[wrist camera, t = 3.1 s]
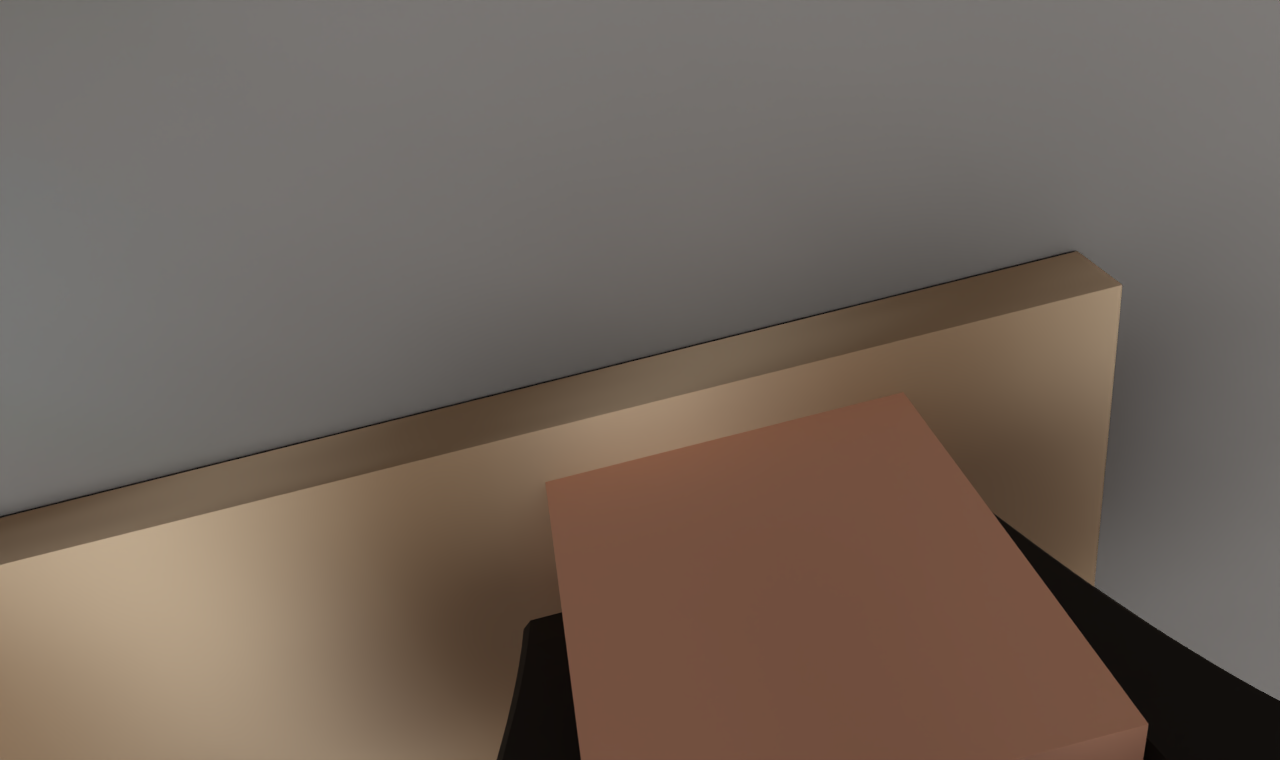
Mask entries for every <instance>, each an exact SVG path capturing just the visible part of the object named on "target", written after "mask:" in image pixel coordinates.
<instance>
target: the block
mask: <svg viewBox="0 0 1280 760" xmlns="http://www.w3.org/2000/svg"><path fill="white" fill-rule="evenodd" d="M545 484H546V492H547V499H548V507H549V515H550V523H551V531H552V538H553V546H554V554H555V562H556V569H557V577H558V585H559V593H560V600H561V608H562V616H563V624H564V631H565V639H566V647H567V655H568V663H569V670H570V678H571V686H572V694H573V701H574V709H575V717H576V725H577V732H578V740H579V748H580V756H581V760H1143V757H1144V751H1145V744H1146V737H1147V731H1148V723H1147V721H1146V720H1145V718H1144V717H1143V716H1142V714H1141V713H1140V712H1139V710H1138V709H1137V708H1136V706H1135V705H1134V704H1133V702H1132V701H1131V700H1130V698H1129V697H1128V695H1127V694H1126V693H1125V691H1124V690H1123V689H1122V687H1121V686H1120V685H1119V683H1118V682H1117V681H1116V679H1115V678H1114V677H1113V675H1112V674H1111V672H1110V671H1109V670H1108V668H1107V667H1106V666H1105V664H1104V663H1103V662H1102V660H1101V659H1100V658H1099V656H1098V655H1097V654H1096V652H1095V651H1094V649H1093V648H1092V647H1091V645H1090V644H1089V643H1088V641H1087V640H1086V639H1085V637H1084V636H1083V635H1082V633H1081V632H1080V631H1079V629H1078V628H1077V626H1076V625H1075V624H1074V622H1073V621H1072V620H1071V618H1070V617H1069V616H1068V614H1067V613H1066V612H1065V610H1064V609H1063V608H1062V606H1061V605H1060V603H1059V602H1058V601H1057V599H1056V598H1055V597H1054V595H1053V594H1052V593H1051V591H1050V590H1049V589H1048V587H1047V586H1046V585H1045V583H1044V582H1043V580H1042V579H1041V578H1040V576H1039V575H1038V574H1037V572H1036V571H1035V570H1034V568H1033V567H1032V566H1031V564H1030V563H1029V561H1028V560H1027V559H1026V557H1025V556H1024V555H1023V553H1022V552H1021V551H1020V549H1019V548H1018V547H1017V545H1016V544H1015V543H1014V541H1013V540H1012V538H1011V537H1010V536H1009V534H1008V533H1007V532H1006V530H1005V529H1004V528H1003V526H1002V525H1001V524H1000V522H999V521H998V520H997V518H996V517H995V515H994V514H993V513H992V511H991V510H990V509H989V507H988V506H987V505H986V503H985V502H984V501H983V499H982V498H981V497H980V495H979V494H978V492H977V491H976V490H975V488H974V487H973V486H972V484H971V483H970V482H969V480H968V479H967V478H966V476H965V475H964V474H963V472H962V471H961V469H960V468H959V467H958V465H957V464H956V463H955V461H954V460H953V459H952V457H951V456H950V455H949V453H948V452H947V451H946V449H945V448H944V446H943V445H942V444H941V442H940V441H939V440H938V438H937V437H936V436H935V434H934V433H933V432H932V430H931V429H930V428H929V426H928V425H927V423H926V422H925V421H924V419H923V418H922V417H921V415H920V414H919V413H918V411H917V410H916V409H915V407H914V406H913V405H912V403H911V402H910V400H909V399H908V398H907V396H906V395H905V394H904V392H902V393H898V394H894V395H890V396H886V397H882V398H878V399H874V400H870V401H866V402H862V403H858V404H854V405H850V406H846V407H842V408H838V409H834V410H830V411H826V412H822V413H818V414H814V415H810V416H806V417H802V418H798V419H794V420H790V421H786V422H782V423H778V424H774V425H770V426H766V427H762V428H758V429H754V430H750V431H747V432H743V433H739V434H735V435H731V436H727V437H723V438H719V439H715V440H711V441H707V442H703V443H699V444H695V445H691V446H687V447H683V448H679V449H675V450H671V451H667V452H663V453H659V454H655V455H651V456H647V457H643V458H639V459H635V460H631V461H627V462H623V463H619V464H615V465H611V466H607V467H603V468H599V469H595V470H591V471H587V472H583V473H580V474H576V475H572V476H568V477H564V478H560V479H556V480H552V481H548V482H545Z"/></svg>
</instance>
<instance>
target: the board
mask: <svg viewBox="0 0 1280 760" xmlns="http://www.w3.org/2000/svg"><path fill="white" fill-rule="evenodd" d="M1121 295H1122V284H1120V283H1119V282H1118V281H1116V280H1115V279H1114V278H1112V277H1111V276H1110V275H1108V274H1107V273H1106V272H1104V271H1103V270H1102V269H1100V268H1099V267H1098V266H1096V265H1095V264H1094V263H1092V262H1091V261H1090V260H1088V259H1087V258H1086V257H1084V256H1083V255H1082V254H1080V253H1079V252H1078V251H1076V252H1072V253H1068V254H1064V255H1060V256H1056V257H1052V258H1048V259H1044V260H1040V261H1036V262H1032V263H1028V264H1024V265H1020V266H1016V267H1011V268H1007V269H1003V270H999V271H995V272H991V273H987V274H983V275H979V276H975V277H971V278H967V279H963V280H959V281H955V282H951V283H947V284H943V285H939V286H935V287H931V288H927V289H923V290H919V291H915V292H911V293H907V294H902V295H898V296H894V297H890V298H886V299H882V300H878V301H874V302H870V303H866V304H862V305H858V306H854V307H850V308H846V309H842V310H838V311H834V312H830V313H826V314H822V315H818V316H814V317H810V318H806V319H802V320H797V321H793V322H789V323H785V324H781V325H777V326H773V327H769V328H765V329H761V330H757V331H753V332H749V333H745V334H741V335H737V336H733V337H729V338H725V339H721V340H717V341H713V342H709V343H705V344H701V345H697V346H693V347H688V348H684V349H680V350H676V351H672V352H668V353H664V354H660V355H656V356H652V357H648V358H644V359H640V360H636V361H632V362H628V363H624V364H620V365H616V366H612V367H608V368H604V369H600V370H596V371H592V372H588V373H583V374H579V375H575V376H571V377H567V378H563V379H559V380H555V381H551V382H547V383H543V384H539V385H535V386H531V387H527V388H523V389H519V390H515V391H511V392H507V393H503V394H499V395H495V396H491V397H487V398H483V399H479V400H474V401H470V402H466V403H462V404H458V405H454V406H450V407H446V408H442V409H438V410H434V411H430V412H426V413H422V414H418V415H414V416H410V417H406V418H402V419H398V420H394V421H390V422H386V423H382V424H378V425H374V426H369V427H365V428H361V429H357V430H353V431H349V432H345V433H341V434H337V435H333V436H329V437H325V438H321V439H317V440H313V441H309V442H305V443H301V444H297V445H293V446H289V447H285V448H281V449H277V450H273V451H269V452H265V453H260V454H256V455H252V456H248V457H244V458H240V459H236V460H232V461H228V462H224V463H220V464H216V465H212V466H208V467H204V468H200V469H196V470H192V471H188V472H184V473H180V474H176V475H172V476H168V477H164V478H160V479H155V480H151V481H147V482H143V483H139V484H135V485H131V486H127V487H123V488H119V489H115V490H111V491H107V492H103V493H99V494H95V495H91V496H87V497H83V498H79V499H75V500H71V501H67V502H63V503H59V504H55V505H51V506H46V507H42V508H38V509H34V510H30V511H26V512H22V513H18V514H14V515H10V516H6V517H2V518H0V760H497V757H498V753H499V749H500V745H501V742H502V738H503V734H504V731H505V727H506V723H507V719H508V715H509V710H510V706H511V701H512V697H513V693H514V688H515V683H516V678H517V672H518V667H519V661H520V654H521V648H522V639H523V630H524V628H525V627H526V625H527V624H528V623H529V621H530V620H534V619H538V618H541V617H545V616H549V615H553V614H557V613H561V612H562V608H561V600H560V593H559V585H558V577H557V569H556V562H555V554H554V546H553V538H552V531H551V523H550V515H549V507H548V499H547V492H546V484H545V482H548V481H552V480H556V479H560V478H564V477H568V476H572V475H576V474H580V473H583V472H587V471H591V470H595V469H599V468H603V467H607V466H611V465H615V464H619V463H623V462H627V461H631V460H635V459H639V458H643V457H647V456H651V455H655V454H659V453H663V452H667V451H671V450H675V449H679V448H683V447H687V446H691V445H695V444H699V443H703V442H707V441H711V440H715V439H719V438H723V437H727V436H731V435H735V434H739V433H743V432H747V431H750V430H754V429H758V428H762V427H766V426H770V425H774V424H778V423H782V422H786V421H790V420H794V419H798V418H802V417H806V416H810V415H814V414H818V413H822V412H826V411H830V410H834V409H838V408H842V407H846V406H850V405H854V404H858V403H862V402H866V401H870V400H874V399H878V398H882V397H886V396H890V395H894V394H898V393H902V392H904V394H905V395H906V396H907V398H908V399H909V400H910V402H911V403H912V405H913V406H914V407H915V409H916V410H917V411H918V413H919V414H920V415H921V417H922V418H923V419H924V421H925V422H926V423H927V425H928V426H929V428H930V429H931V430H932V432H933V433H934V434H935V436H936V437H937V438H938V440H939V441H940V442H941V444H942V445H943V446H944V448H945V449H946V451H947V452H948V453H949V455H950V456H951V457H952V459H953V460H954V461H955V463H956V464H957V465H958V467H959V468H960V469H961V471H962V472H963V474H964V475H965V476H966V478H967V479H968V480H969V482H970V483H971V484H972V486H973V487H974V488H975V490H976V491H977V492H978V494H979V495H980V497H981V498H982V499H983V501H984V502H985V503H986V505H987V506H988V507H989V509H990V510H991V511H992V512H993V513H994V514H996V515H997V516H998V517H1000V518H1001V519H1002V520H1004V521H1005V522H1006V523H1008V524H1009V525H1010V526H1012V527H1013V528H1014V529H1016V530H1017V531H1018V532H1020V533H1021V534H1022V535H1024V536H1025V537H1026V538H1028V539H1029V540H1030V541H1032V542H1033V543H1034V544H1036V545H1037V546H1038V547H1040V548H1041V549H1042V550H1044V551H1045V552H1046V553H1048V554H1049V555H1051V556H1052V557H1053V558H1055V559H1056V560H1057V561H1059V562H1060V563H1062V564H1063V565H1064V566H1066V567H1067V568H1069V569H1070V570H1071V571H1073V572H1074V573H1075V574H1077V575H1078V576H1080V577H1081V578H1083V579H1084V580H1085V581H1087V582H1088V583H1090V584H1091V585H1092V586H1094V582H1095V572H1096V561H1097V550H1098V540H1099V529H1100V518H1101V508H1102V497H1103V486H1104V476H1105V465H1106V454H1107V444H1108V433H1109V422H1110V412H1111V401H1112V391H1113V380H1114V369H1115V359H1116V348H1117V337H1118V327H1119V316H1120V305H1121Z"/></svg>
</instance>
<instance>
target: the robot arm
mask: <svg viewBox="0 0 1280 760" xmlns="http://www.w3.org/2000/svg"><path fill="white" fill-rule="evenodd" d="M992 513H993V512H992ZM993 514H994V513H993ZM994 515H995V517H996V518H997V520H998V521H999V522H1000V524H1001V525H1002V526H1003V528H1004V529H1005V530H1006V532H1007V533H1008V534H1009V536H1010V537H1011V538H1012V540H1013V541H1014V543H1015V544H1016V545H1017V547H1018V548H1019V549H1020V551H1021V552H1022V553H1023V555H1024V556H1025V557H1026V559H1027V560H1028V561H1029V563H1030V564H1031V566H1032V567H1033V568H1034V570H1035V571H1036V572H1037V574H1038V575H1039V576H1040V578H1041V579H1042V580H1043V582H1044V583H1045V585H1046V586H1047V587H1048V589H1049V590H1050V591H1051V593H1052V594H1053V595H1054V597H1055V598H1056V599H1057V601H1058V602H1059V603H1060V605H1061V606H1062V608H1063V609H1064V610H1065V612H1066V613H1067V614H1068V616H1069V617H1070V618H1071V620H1072V621H1073V622H1074V624H1075V625H1076V626H1077V628H1078V629H1079V631H1080V632H1081V633H1082V635H1083V636H1084V637H1085V639H1086V640H1087V641H1088V643H1089V644H1090V645H1091V647H1092V648H1093V649H1094V651H1095V652H1096V654H1097V655H1098V656H1099V658H1100V659H1101V660H1102V662H1103V663H1104V664H1105V666H1106V667H1107V668H1108V670H1109V671H1110V672H1111V674H1112V675H1113V677H1114V678H1115V679H1116V681H1117V682H1118V683H1119V685H1120V686H1121V687H1122V689H1123V690H1124V691H1125V693H1126V694H1127V695H1128V697H1129V698H1130V700H1131V701H1132V702H1133V704H1134V705H1135V706H1136V708H1137V709H1138V710H1139V712H1140V713H1141V714H1142V716H1143V717H1144V718H1145V720H1146V721H1147V723H1148V731H1147V737H1146V744H1145V751H1144V757H1143V760H1280V701H1279V700H1277V699H1275V698H1273V697H1271V696H1269V695H1267V694H1266V693H1264V692H1262V691H1260V690H1258V689H1256V688H1255V687H1253V686H1251V685H1249V684H1247V683H1246V682H1244V681H1242V680H1240V679H1239V678H1237V677H1235V676H1233V675H1232V674H1230V673H1228V672H1227V671H1225V670H1223V669H1221V668H1220V667H1218V666H1216V665H1215V664H1213V663H1211V662H1210V661H1208V660H1206V659H1205V658H1203V657H1201V656H1200V655H1198V654H1196V653H1195V652H1193V651H1192V650H1190V649H1188V648H1187V647H1185V646H1183V645H1182V644H1180V643H1179V642H1177V641H1175V640H1174V639H1172V638H1170V637H1169V636H1167V635H1166V634H1164V633H1163V632H1161V631H1160V630H1158V629H1156V628H1155V627H1153V626H1152V625H1150V624H1149V623H1147V622H1146V621H1144V620H1143V619H1141V618H1140V617H1138V616H1137V615H1135V614H1134V613H1132V612H1131V611H1129V610H1128V609H1126V608H1125V607H1123V606H1122V605H1120V604H1119V603H1117V602H1116V601H1114V600H1113V599H1111V598H1110V597H1109V596H1107V595H1106V594H1104V593H1103V592H1101V591H1100V590H1098V589H1097V588H1095V587H1094V586H1092V585H1091V584H1090V583H1088V582H1087V581H1085V580H1084V579H1083V578H1081V577H1080V576H1078V575H1077V574H1075V573H1074V572H1073V571H1071V570H1070V569H1069V568H1067V567H1066V566H1064V565H1063V564H1062V563H1060V562H1059V561H1057V560H1056V559H1055V558H1053V557H1052V556H1051V555H1049V554H1048V553H1046V552H1045V551H1044V550H1042V549H1041V548H1040V547H1038V546H1037V545H1036V544H1034V543H1033V542H1032V541H1030V540H1029V539H1028V538H1026V537H1025V536H1024V535H1022V534H1021V533H1020V532H1018V531H1017V530H1016V529H1014V528H1013V527H1012V526H1010V525H1009V524H1008V523H1006V522H1005V521H1004V520H1002V519H1001V518H1000V517H998V516H997V515H996V514H994ZM497 760H581V756H580V748H579V740H578V732H577V725H576V717H575V709H574V701H573V694H572V686H571V678H570V670H569V663H568V655H567V647H566V639H565V631H564V624H563V616H562V612H561V613H557V614H553V615H549V616H545V617H541V618H538V619H534V620H530V621H529V623H528V624H527V625H526V627H525V628H524V630H523V639H522V648H521V654H520V661H519V667H518V672H517V678H516V683H515V688H514V693H513V697H512V701H511V706H510V710H509V715H508V719H507V723H506V727H505V731H504V734H503V738H502V742H501V745H500V749H499V753H498V757H497Z"/></svg>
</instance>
